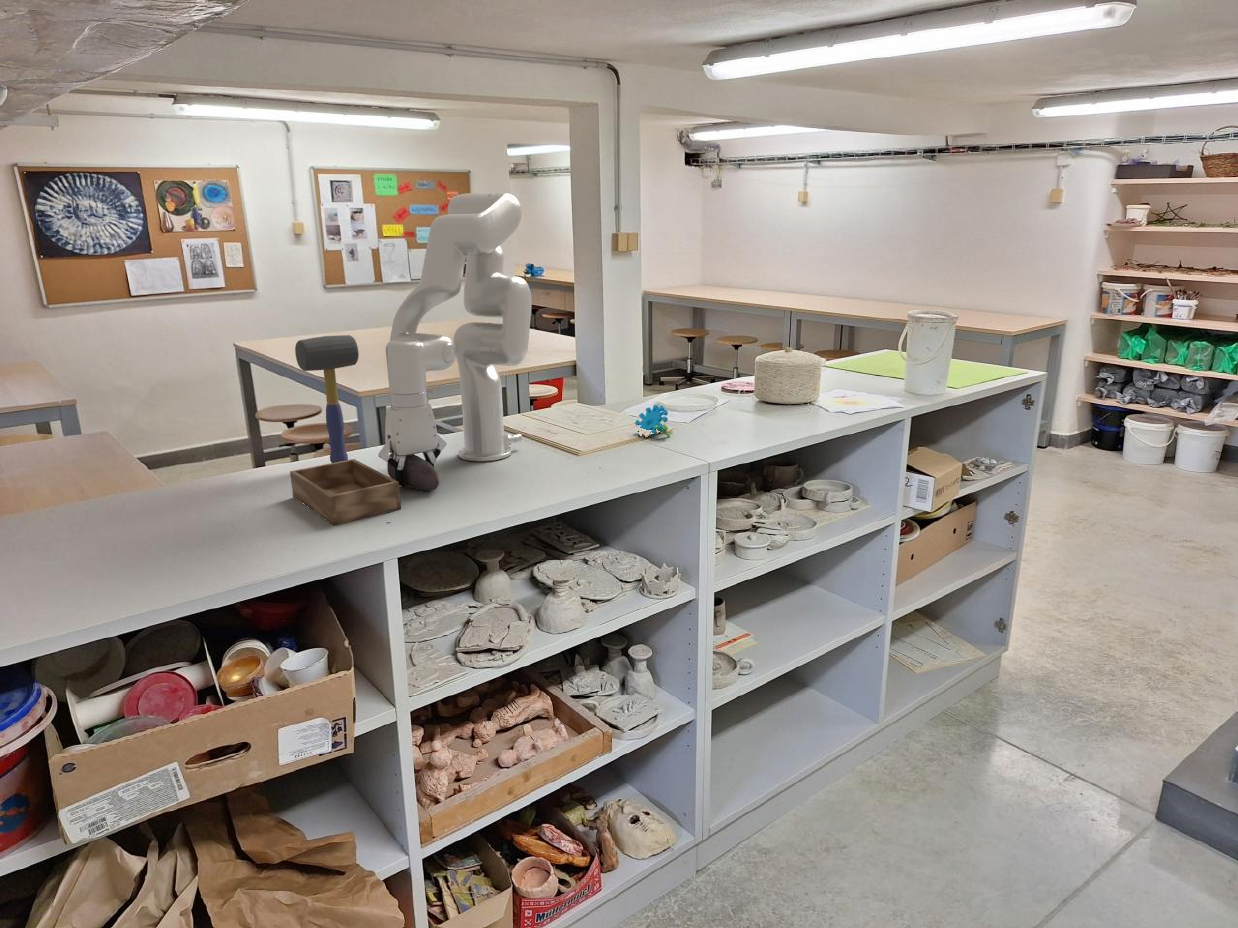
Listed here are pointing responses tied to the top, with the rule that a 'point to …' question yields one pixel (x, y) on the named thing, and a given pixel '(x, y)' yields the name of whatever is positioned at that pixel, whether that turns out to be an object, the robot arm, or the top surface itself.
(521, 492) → the top surface
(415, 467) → the perforated stone tool
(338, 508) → the box
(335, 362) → the rubber mallet
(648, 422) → the blue bumpy cluster
